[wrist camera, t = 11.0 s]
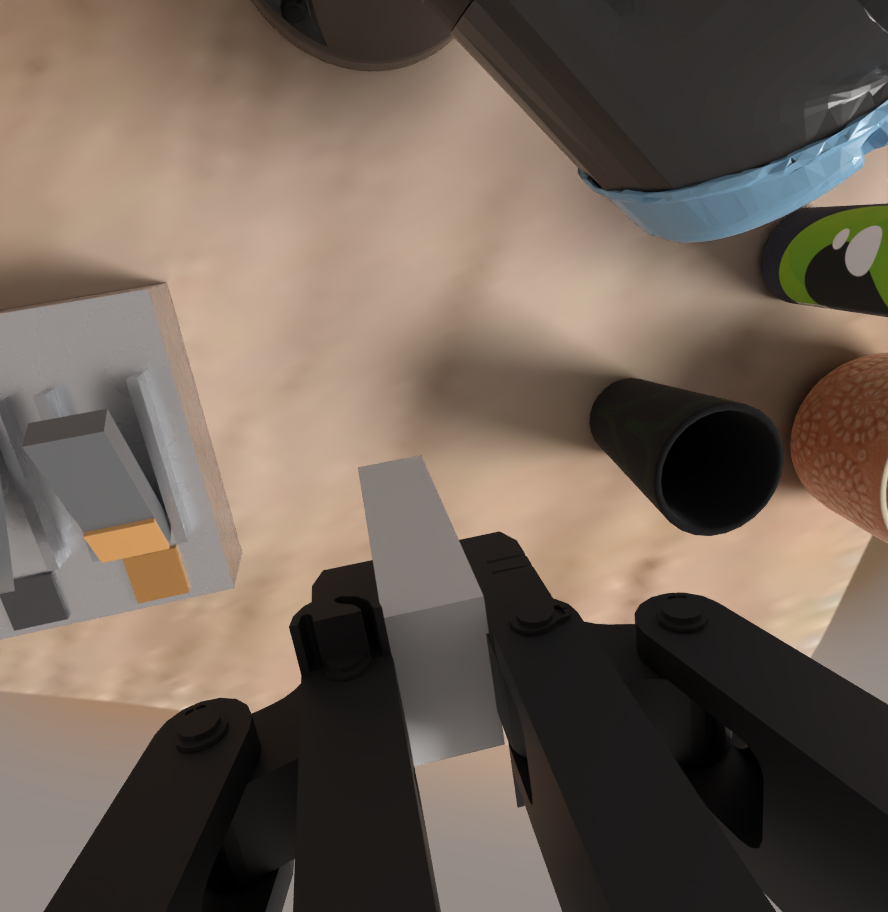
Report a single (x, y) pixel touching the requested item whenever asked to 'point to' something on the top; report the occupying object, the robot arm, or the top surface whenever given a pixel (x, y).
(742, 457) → the cup
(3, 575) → the switch
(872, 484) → the planter
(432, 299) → the top surface
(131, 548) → the switch
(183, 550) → the switch unit
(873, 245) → the beverage can
